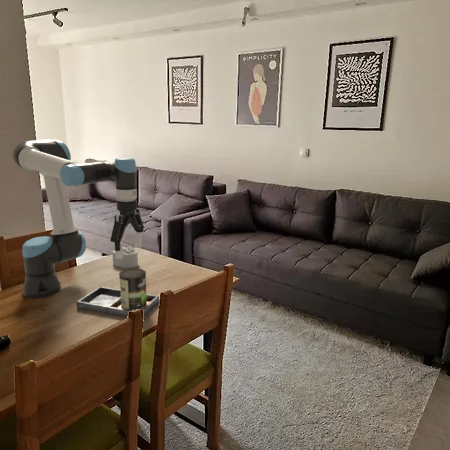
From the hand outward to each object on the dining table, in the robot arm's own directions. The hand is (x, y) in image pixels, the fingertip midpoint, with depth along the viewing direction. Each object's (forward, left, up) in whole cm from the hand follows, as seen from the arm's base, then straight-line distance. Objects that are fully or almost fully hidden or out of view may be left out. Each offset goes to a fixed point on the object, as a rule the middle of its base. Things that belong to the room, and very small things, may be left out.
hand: (129, 252), depth 151 cm
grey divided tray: (-5, -1, -23) cm, 24 cm away
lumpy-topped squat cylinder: (-27, +41, -23) cm, 55 cm away
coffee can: (+2, -1, -22) cm, 22 cm away
